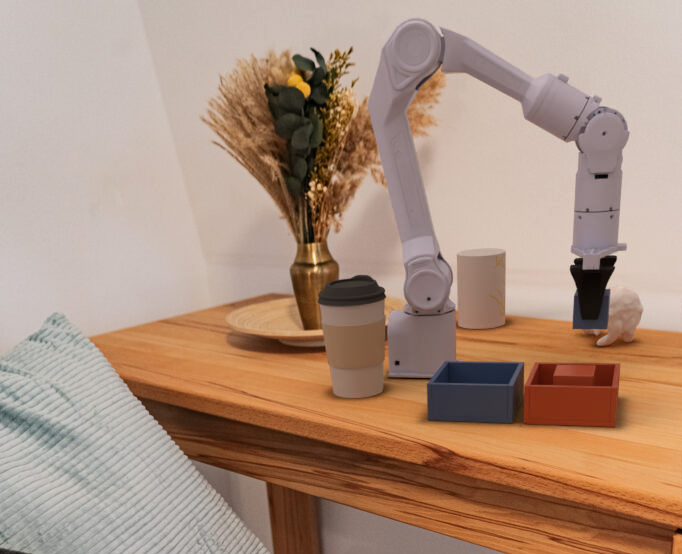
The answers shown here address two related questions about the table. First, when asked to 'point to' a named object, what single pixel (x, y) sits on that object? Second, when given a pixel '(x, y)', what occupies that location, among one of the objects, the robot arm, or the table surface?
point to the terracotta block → (574, 375)
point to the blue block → (592, 324)
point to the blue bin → (476, 391)
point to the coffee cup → (354, 335)
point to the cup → (481, 288)
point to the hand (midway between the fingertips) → (590, 315)
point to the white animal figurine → (620, 316)
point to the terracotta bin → (571, 397)
